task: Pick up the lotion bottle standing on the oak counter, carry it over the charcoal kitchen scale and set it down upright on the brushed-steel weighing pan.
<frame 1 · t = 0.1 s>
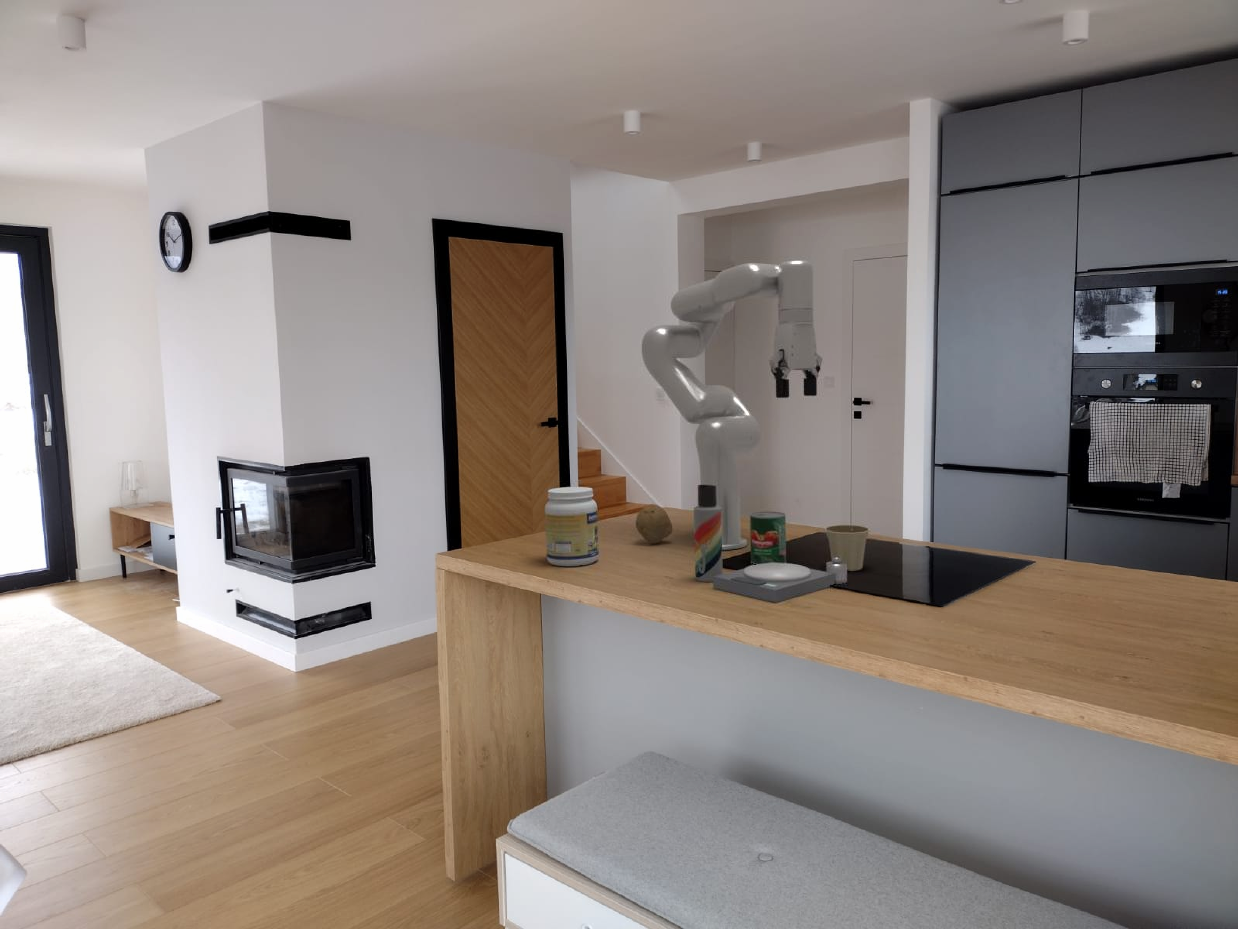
hand: (796, 396, 195), 37 cm above the counter, tool pointing down, fingers open, 9 cm apart
lotion bottle: (709, 580, 184), on the counter
calibration weight: (836, 583, 177), on the counter
canned tomato: (768, 563, 197), on the counter
kitchen scale: (773, 586, 175), on the counter
brown rounded lump: (653, 543, 223), on the counter
flower pot: (847, 569, 189), on the counter
supplement tub: (573, 562, 204), on the counter
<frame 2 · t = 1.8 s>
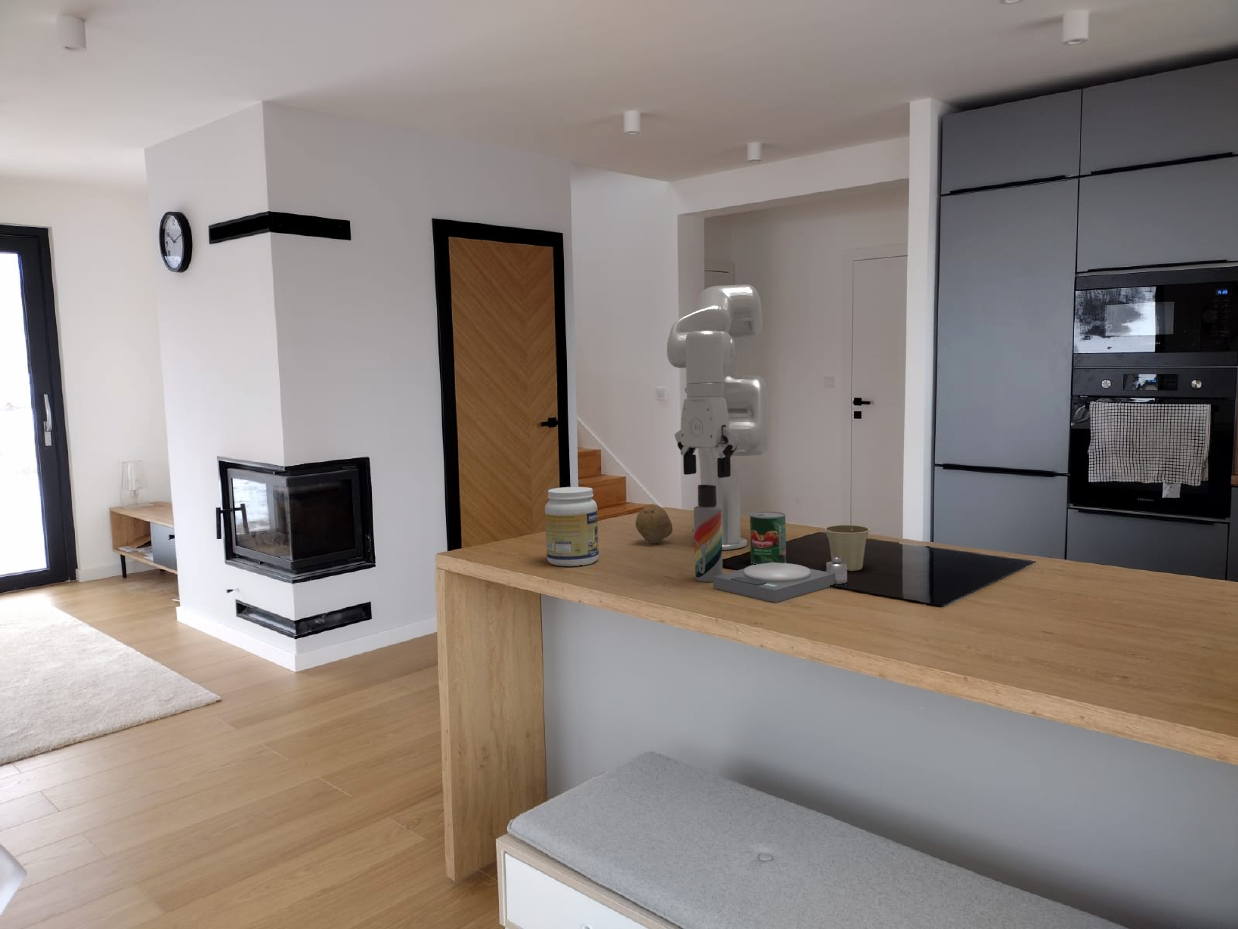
hand: (706, 475, 181), 22 cm above the counter, tool pointing down, fingers open, 9 cm apart
nothing on the counter moved.
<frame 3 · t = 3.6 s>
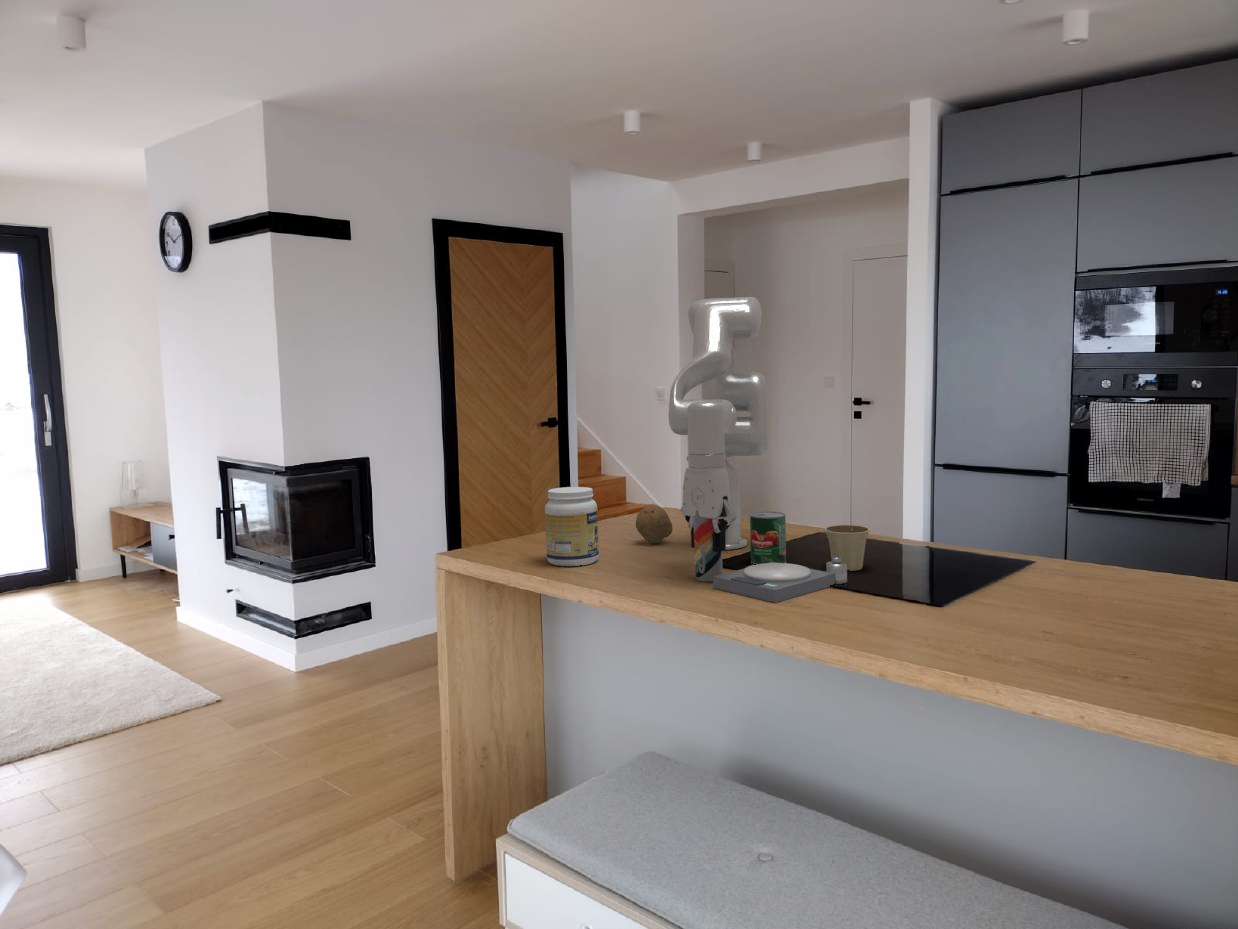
hand: (708, 548, 183), 7 cm above the counter, tool pointing down, fingers closed on lotion bottle, 5 cm apart
lotion bottle: (709, 579, 183), on the counter, touching gripper
everything else where it was.
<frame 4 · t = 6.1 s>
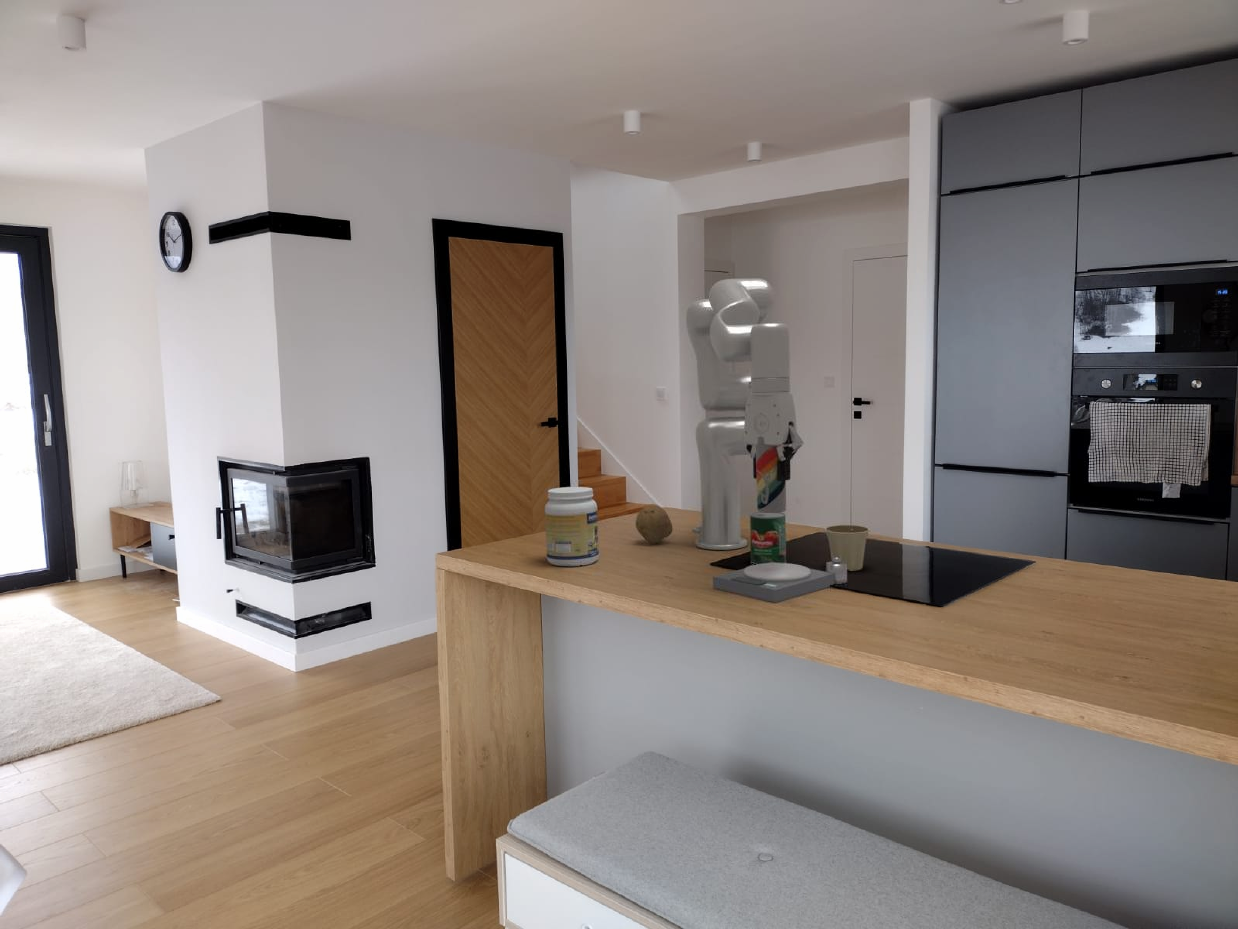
hand: (771, 478, 174), 22 cm above the counter, tool pointing down, fingers closed on lotion bottle, 5 cm apart
lotion bottle: (771, 512, 175), point 15 cm above the counter, touching gripper
calibration weight: (836, 583, 177), on the counter, touching kitchen scale
everything else where it was.
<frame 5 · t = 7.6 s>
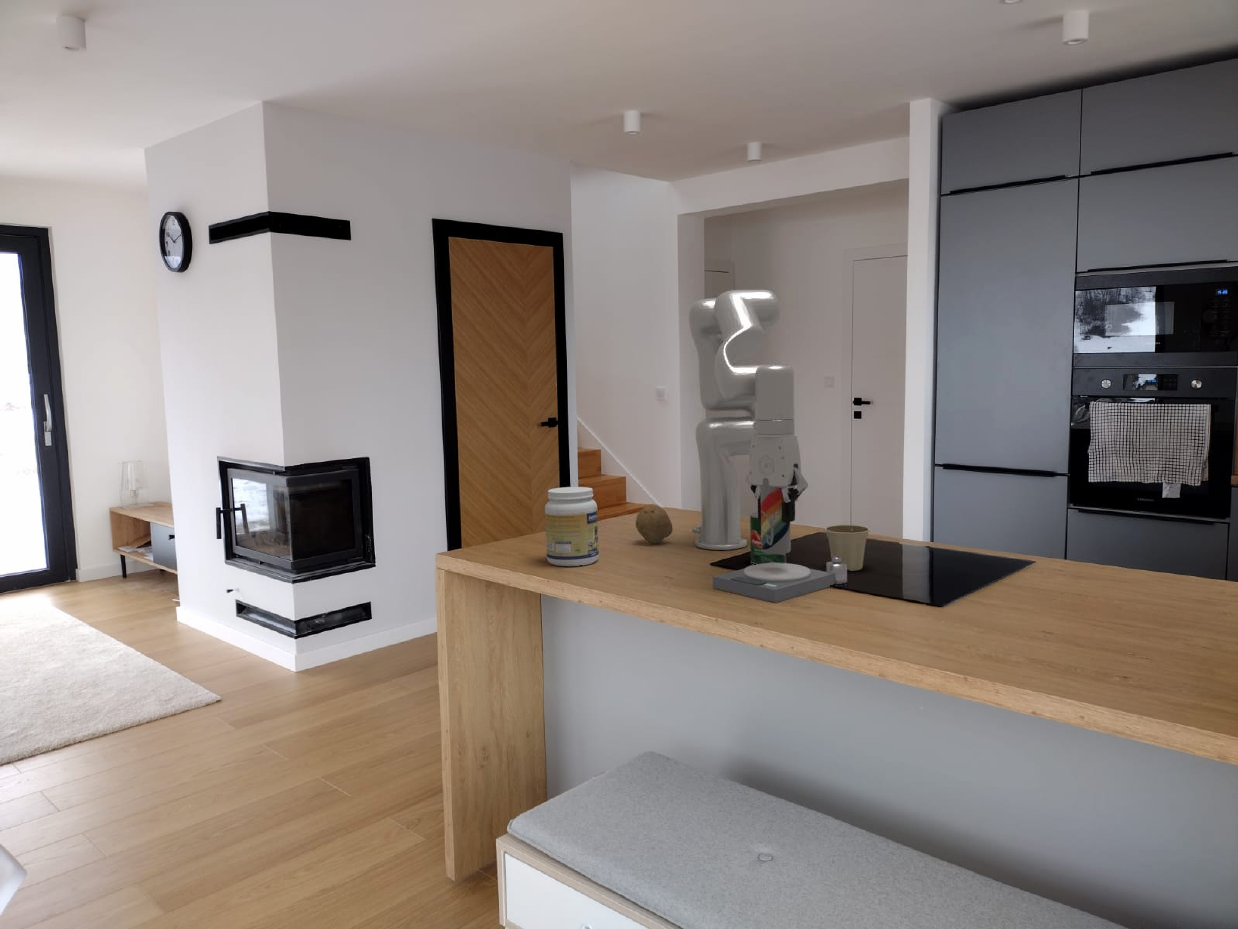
hand: (776, 519, 174), 14 cm above the counter, tool pointing down, fingers closed on lotion bottle, 5 cm apart
lotion bottle: (776, 552, 175), point 7 cm above the counter, touching gripper
calibration weight: (836, 583, 177), on the counter
everything else where it was.
when the fingers open (11 cm above the counter, at t = 8.6 s): lotion bottle stays where it is, resting on kitchen scale.
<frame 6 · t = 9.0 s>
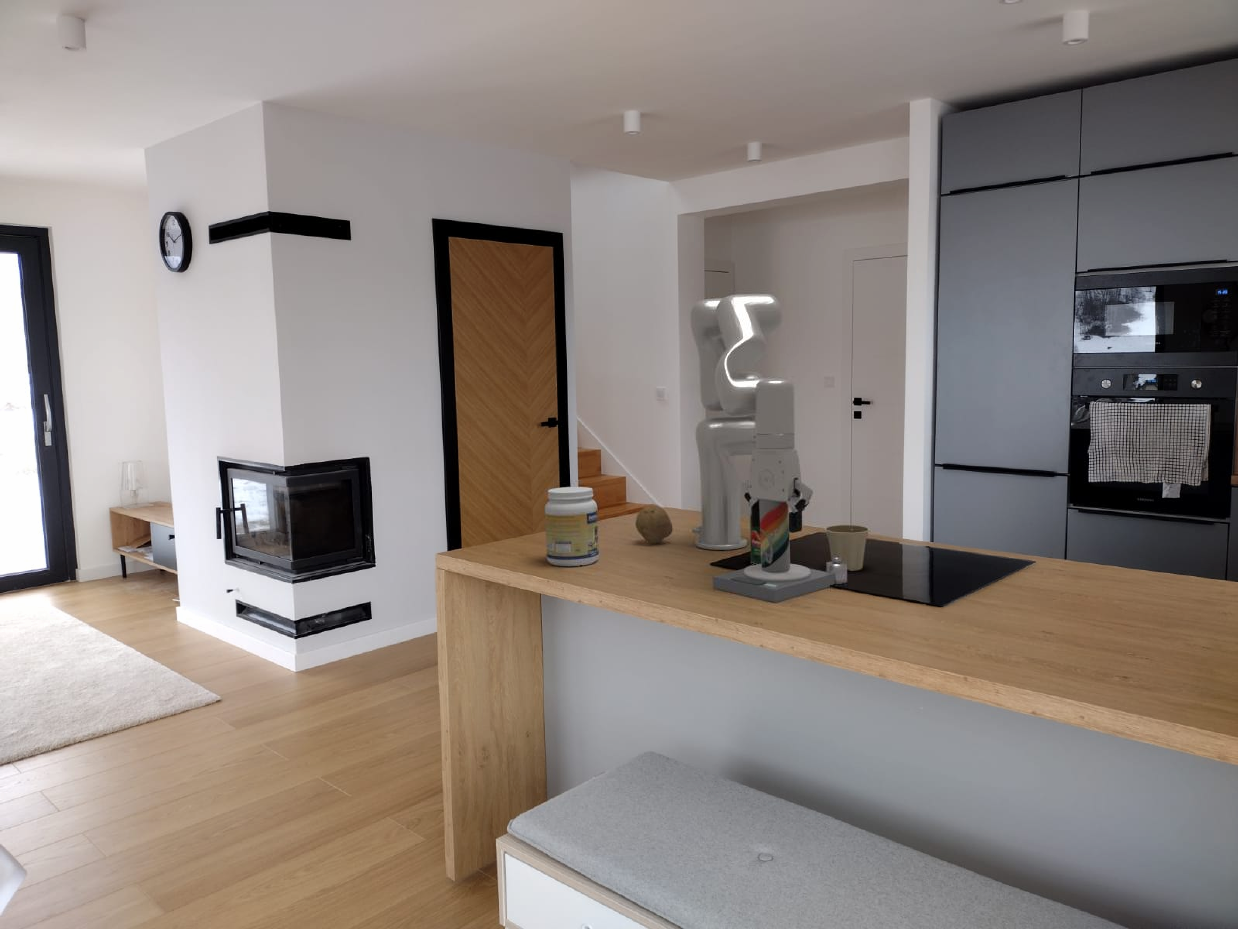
hand: (776, 528, 175), 12 cm above the counter, tool pointing down, fingers open, 9 cm apart
lotion bottle: (775, 570, 176), point 3 cm above the counter, touching kitchen scale
everything else where it was.
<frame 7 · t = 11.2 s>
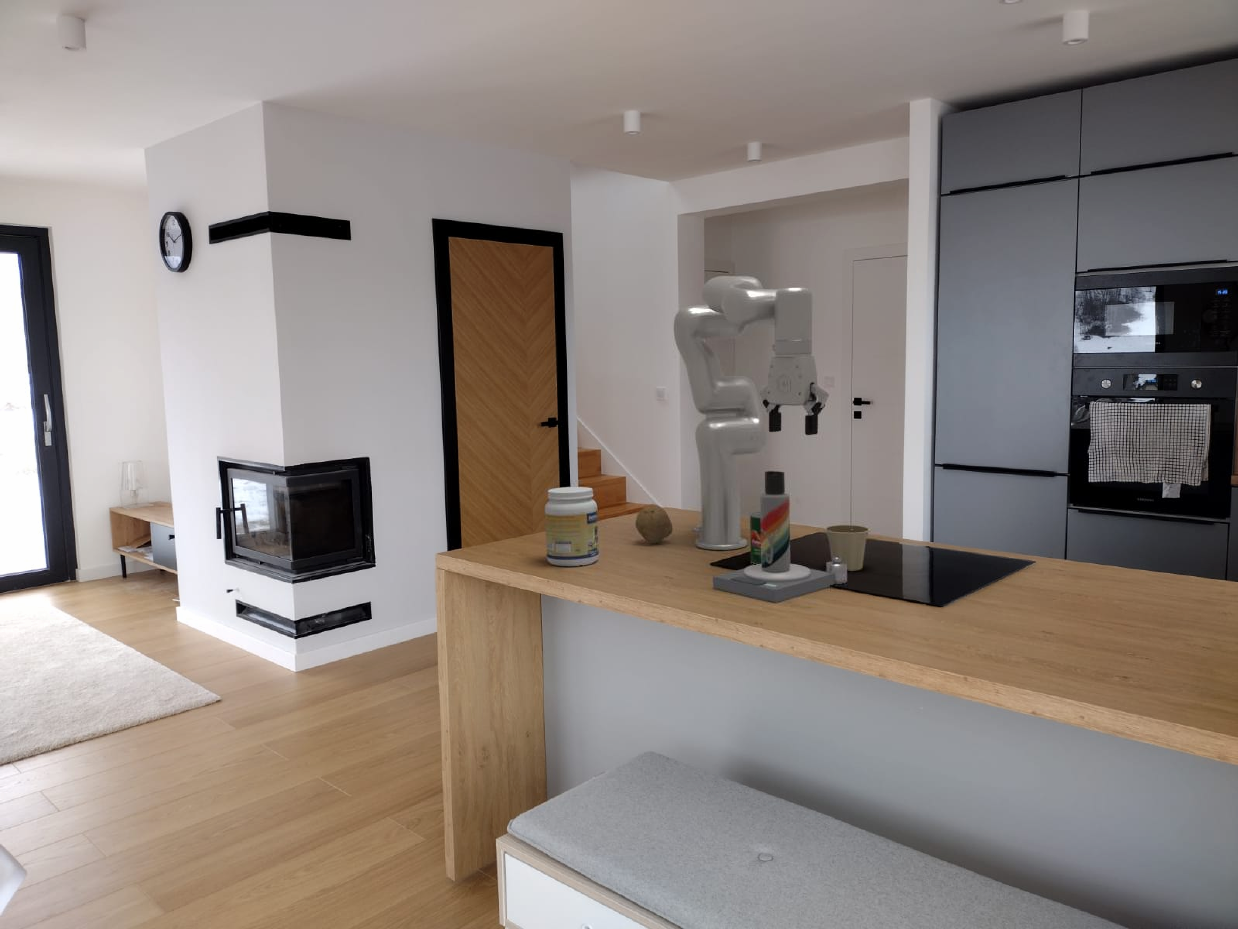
hand: (792, 433, 182), 30 cm above the counter, tool pointing down, fingers open, 9 cm apart
nothing on the counter moved.
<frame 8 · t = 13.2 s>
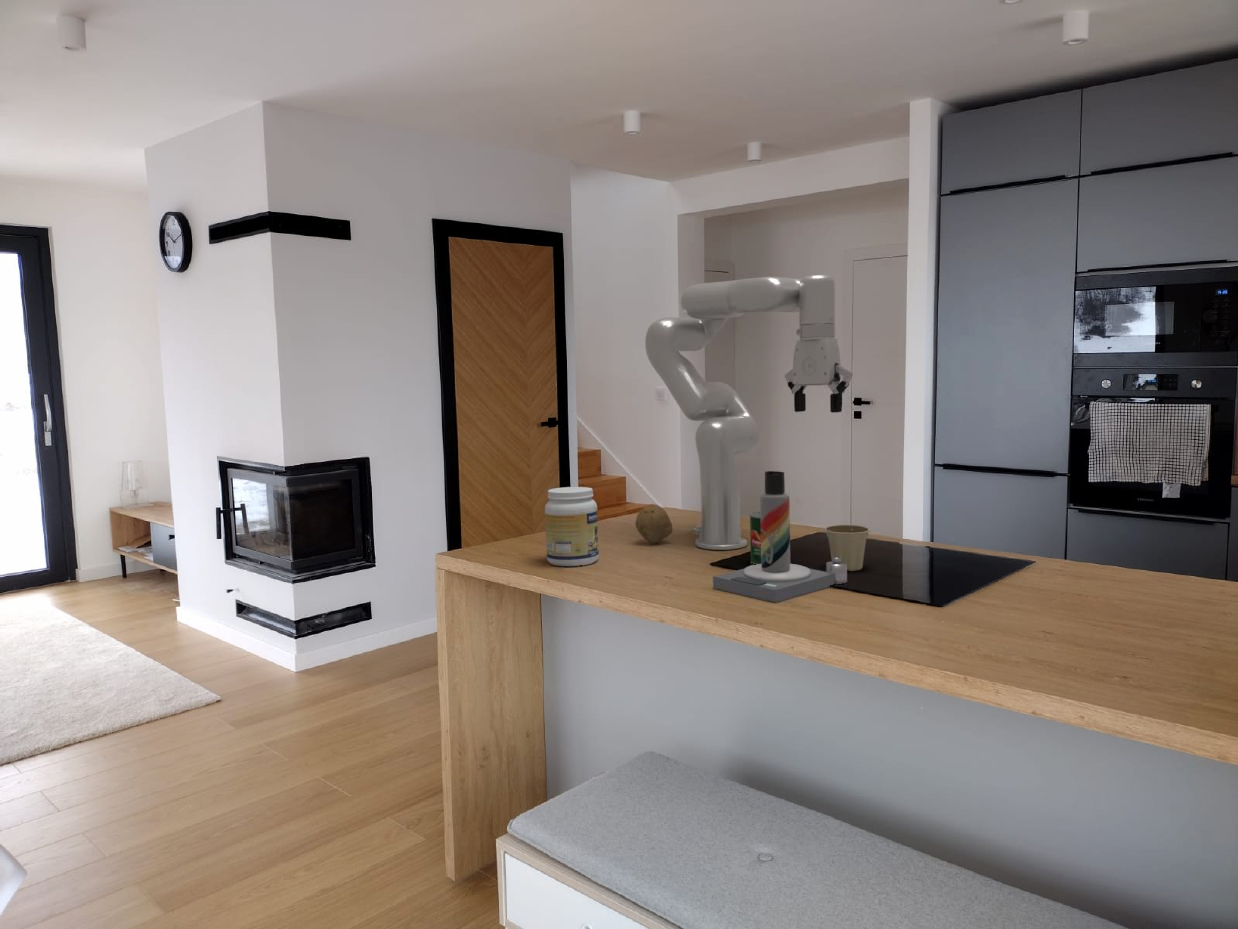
hand: (817, 411, 194), 33 cm above the counter, tool pointing down, fingers open, 9 cm apart
nothing on the counter moved.
at the end: lotion bottle inside the target area on the kitchen scale (0.4 cm from its centre), point 3.0 cm above the kitchen scale's base; lotion bottle tilted 0°; the gripper is holding nothing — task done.
